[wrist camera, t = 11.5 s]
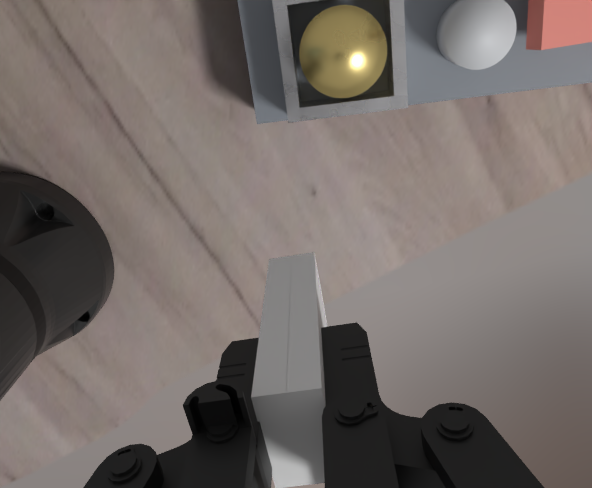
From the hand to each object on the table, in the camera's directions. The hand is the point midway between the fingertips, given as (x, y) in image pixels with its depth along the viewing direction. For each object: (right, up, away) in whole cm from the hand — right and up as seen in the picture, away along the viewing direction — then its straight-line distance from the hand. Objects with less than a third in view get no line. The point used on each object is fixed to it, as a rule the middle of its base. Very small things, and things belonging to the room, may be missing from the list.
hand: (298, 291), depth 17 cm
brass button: (+3, +14, +15) cm, 20 cm away
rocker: (+16, +15, +13) cm, 26 cm away
